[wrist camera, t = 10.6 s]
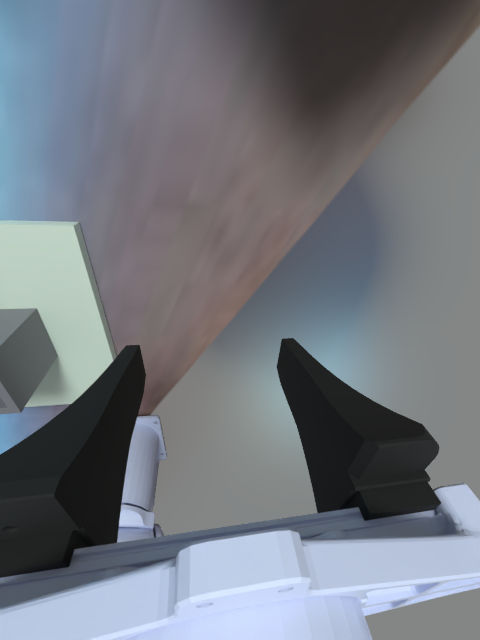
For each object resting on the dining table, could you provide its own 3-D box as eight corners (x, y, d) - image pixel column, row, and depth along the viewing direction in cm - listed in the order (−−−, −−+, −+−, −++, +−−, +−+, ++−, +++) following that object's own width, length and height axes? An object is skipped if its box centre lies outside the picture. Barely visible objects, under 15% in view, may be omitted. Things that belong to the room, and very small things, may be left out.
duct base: (126, 392, 28) (117, 424, 25) (-18, 402, 26) (-48, 439, 23) (78, 221, 18) (53, 239, 15) (-161, 216, 16) (-250, 235, 13)
